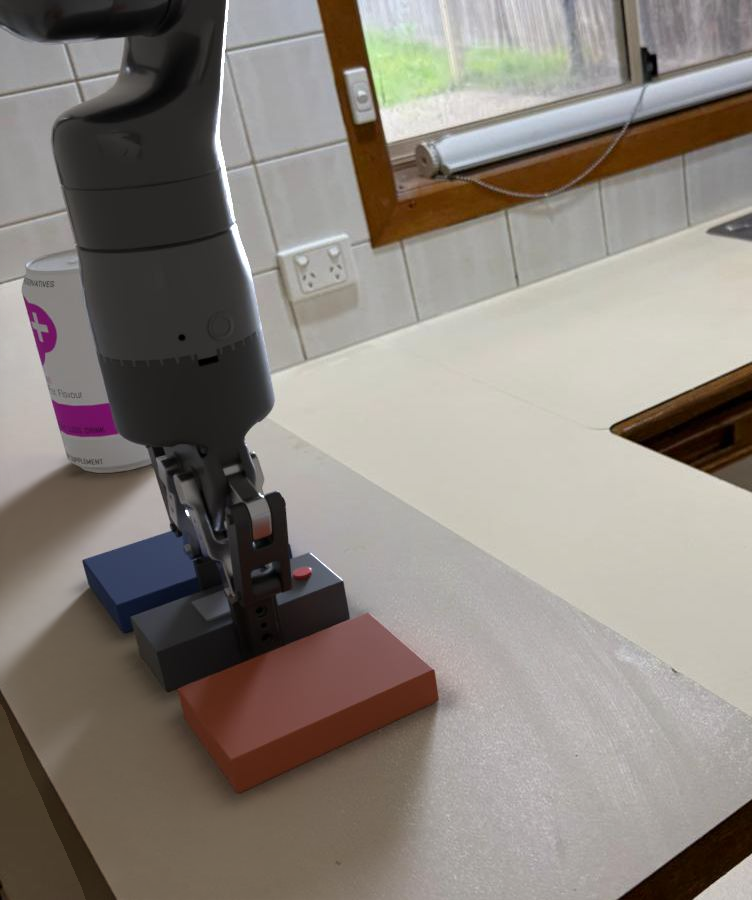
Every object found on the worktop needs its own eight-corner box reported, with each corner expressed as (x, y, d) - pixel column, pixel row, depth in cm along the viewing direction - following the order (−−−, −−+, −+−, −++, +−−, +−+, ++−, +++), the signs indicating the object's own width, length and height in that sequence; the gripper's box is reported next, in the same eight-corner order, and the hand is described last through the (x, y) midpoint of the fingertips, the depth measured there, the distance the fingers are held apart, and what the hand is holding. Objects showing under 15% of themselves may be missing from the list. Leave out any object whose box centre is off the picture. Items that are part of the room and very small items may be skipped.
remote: (166, 692, 57) (155, 648, 56) (140, 655, 60) (128, 613, 59) (350, 618, 62) (343, 577, 61) (316, 588, 65) (309, 548, 64)
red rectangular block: (184, 719, 54) (176, 688, 54) (373, 640, 60) (368, 611, 59) (238, 794, 49) (230, 760, 48) (439, 700, 55) (435, 669, 54)
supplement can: (71, 486, 81) (14, 279, 75) (69, 446, 88) (17, 254, 82) (190, 461, 84) (144, 260, 78) (179, 424, 90) (136, 237, 84)
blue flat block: (88, 586, 67) (81, 559, 66) (251, 530, 72) (246, 505, 72) (123, 634, 62) (115, 606, 61) (295, 571, 67) (290, 544, 66)
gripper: (57, 316, 57) (134, 608, 64) (143, 385, 47) (225, 726, 53) (204, 284, 61) (262, 562, 68) (314, 341, 51) (369, 664, 57)
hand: (245, 633), depth 61 cm, fingers open, 4 cm apart
